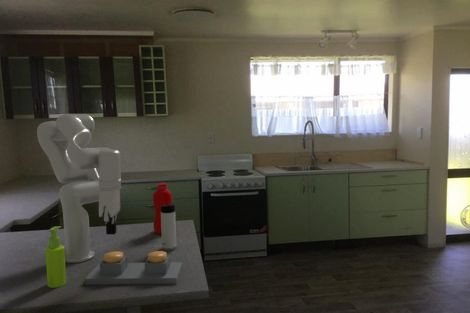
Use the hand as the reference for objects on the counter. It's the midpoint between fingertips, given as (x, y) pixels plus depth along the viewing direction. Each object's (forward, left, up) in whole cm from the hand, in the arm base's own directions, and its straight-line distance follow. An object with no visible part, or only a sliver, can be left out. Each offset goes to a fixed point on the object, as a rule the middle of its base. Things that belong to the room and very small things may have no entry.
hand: (111, 233), depth 133 cm
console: (+9, 0, -16) cm, 18 cm away
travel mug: (+16, +28, -16) cm, 35 cm away
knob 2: (+17, 0, -14) cm, 21 cm away
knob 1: (+1, 0, -14) cm, 14 cm away
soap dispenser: (-17, -6, -16) cm, 24 cm away
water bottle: (+8, +52, -16) cm, 54 cm away
